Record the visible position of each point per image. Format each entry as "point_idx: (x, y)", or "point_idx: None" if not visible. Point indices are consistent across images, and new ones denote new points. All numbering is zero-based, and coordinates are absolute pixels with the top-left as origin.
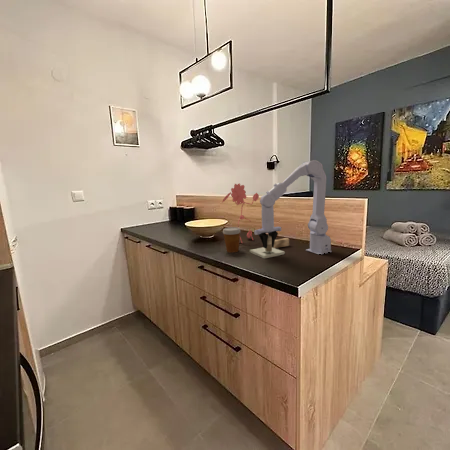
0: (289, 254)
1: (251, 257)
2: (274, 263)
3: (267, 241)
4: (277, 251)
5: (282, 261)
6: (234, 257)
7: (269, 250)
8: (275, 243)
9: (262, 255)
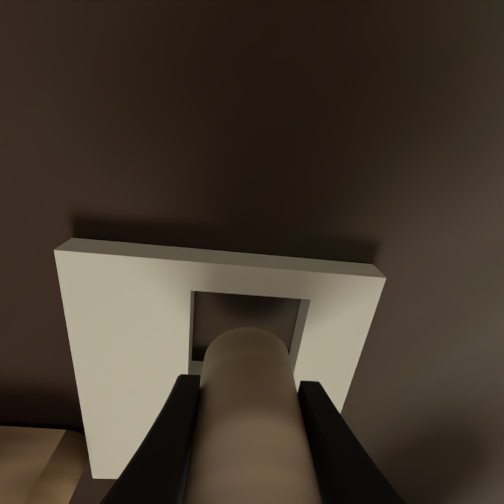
0: (21, 188)
1: (418, 361)
2: (453, 28)
3: (317, 501)
4: (130, 313)
5: (310, 10)
6: (497, 431)
7: (267, 338)
8: (6, 484)
9: (374, 309)
